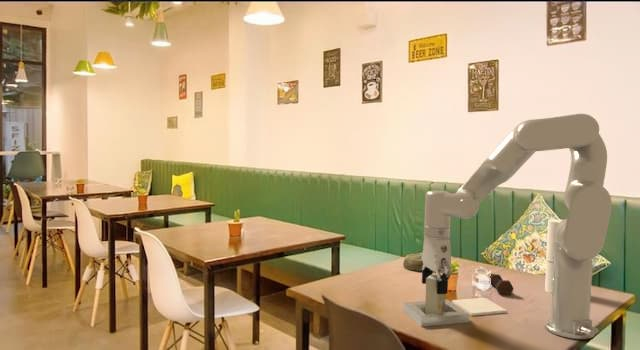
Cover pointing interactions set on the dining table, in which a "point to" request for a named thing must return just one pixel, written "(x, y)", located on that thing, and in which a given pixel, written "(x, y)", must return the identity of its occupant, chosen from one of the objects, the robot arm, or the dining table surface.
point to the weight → (413, 262)
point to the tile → (479, 306)
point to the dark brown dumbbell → (501, 285)
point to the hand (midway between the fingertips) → (434, 288)
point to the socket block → (435, 314)
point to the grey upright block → (433, 296)
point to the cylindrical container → (550, 255)
